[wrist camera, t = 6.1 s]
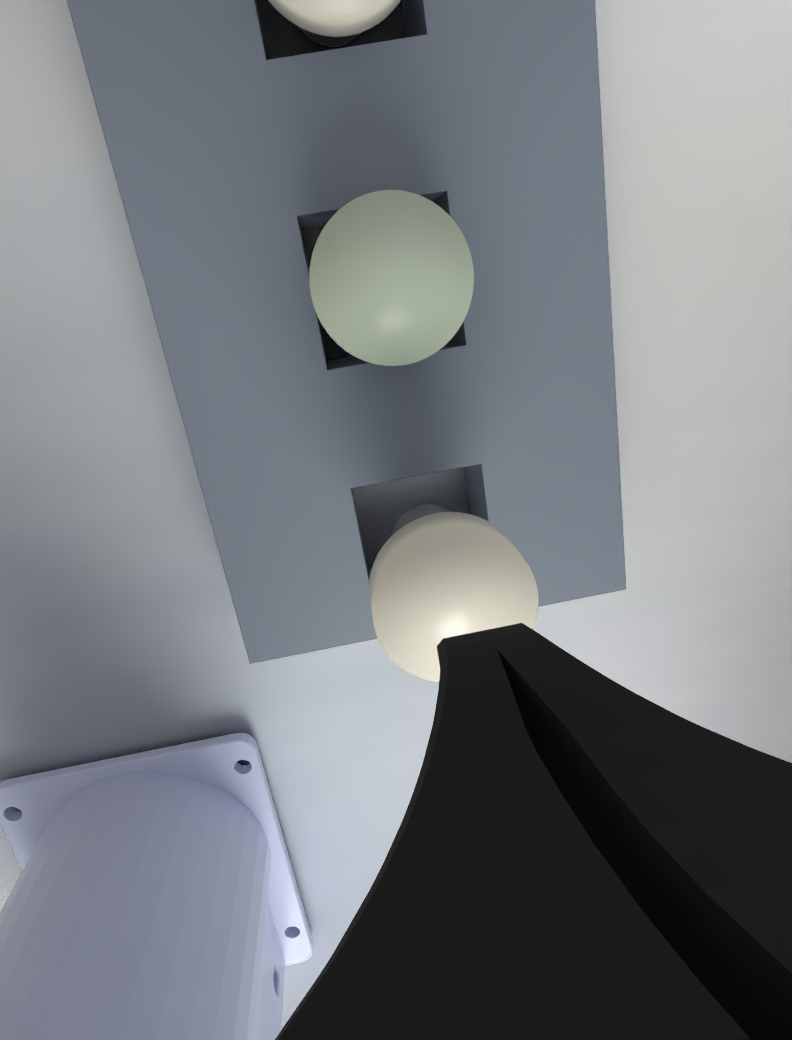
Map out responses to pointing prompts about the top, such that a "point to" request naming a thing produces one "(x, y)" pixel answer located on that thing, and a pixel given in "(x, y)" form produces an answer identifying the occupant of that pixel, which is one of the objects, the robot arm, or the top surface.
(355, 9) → the knob
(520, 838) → the robot arm
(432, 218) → the knob middle
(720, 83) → the top surface
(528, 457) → the console
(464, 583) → the knob
